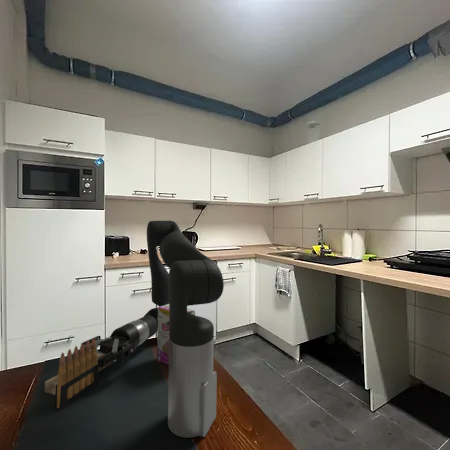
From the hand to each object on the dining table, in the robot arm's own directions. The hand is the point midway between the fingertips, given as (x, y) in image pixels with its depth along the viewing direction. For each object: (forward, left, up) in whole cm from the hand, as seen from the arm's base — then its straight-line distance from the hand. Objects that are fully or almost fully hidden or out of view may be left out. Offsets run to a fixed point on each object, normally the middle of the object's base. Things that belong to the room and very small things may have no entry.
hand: (85, 360), depth 63 cm
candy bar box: (-14, -19, -8) cm, 25 cm away
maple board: (+6, -4, -7) cm, 10 cm away
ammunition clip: (0, +2, -8) cm, 8 cm away
